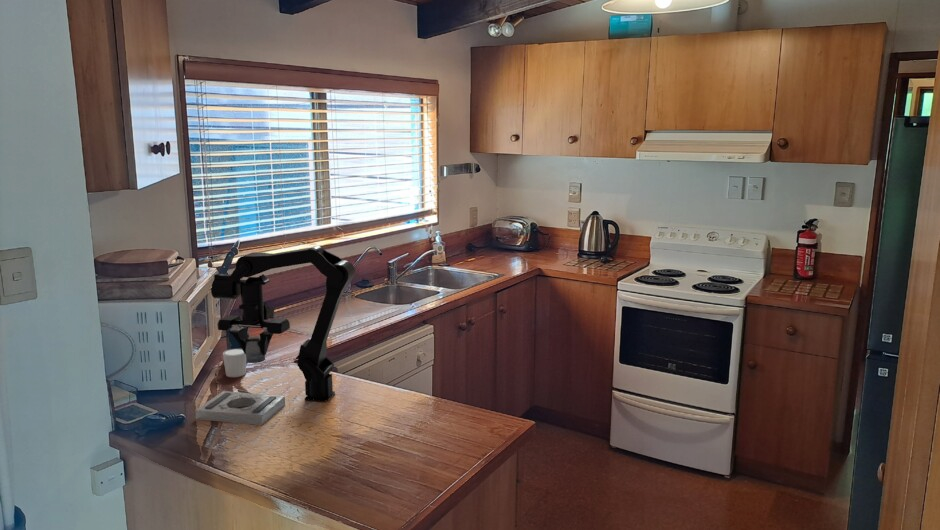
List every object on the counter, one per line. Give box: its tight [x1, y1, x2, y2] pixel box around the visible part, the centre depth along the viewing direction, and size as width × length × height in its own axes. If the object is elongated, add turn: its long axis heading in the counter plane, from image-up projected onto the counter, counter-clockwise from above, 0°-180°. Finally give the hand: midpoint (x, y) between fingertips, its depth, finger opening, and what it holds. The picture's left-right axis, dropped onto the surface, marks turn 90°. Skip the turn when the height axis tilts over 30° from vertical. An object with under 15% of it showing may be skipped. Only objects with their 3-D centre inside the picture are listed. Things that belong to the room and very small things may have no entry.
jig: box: [195, 390, 286, 426], centre depth 176 cm, size 18×13×3 cm
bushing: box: [245, 336, 266, 364], centre depth 186 cm, size 5×5×6 cm
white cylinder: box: [222, 349, 247, 378], centre depth 203 cm, size 7×7×7 cm
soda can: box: [225, 327, 250, 363], centre depth 214 cm, size 7×7×12 cm
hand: (255, 354), depth 186 cm, fingers closed on bushing, 5 cm apart
